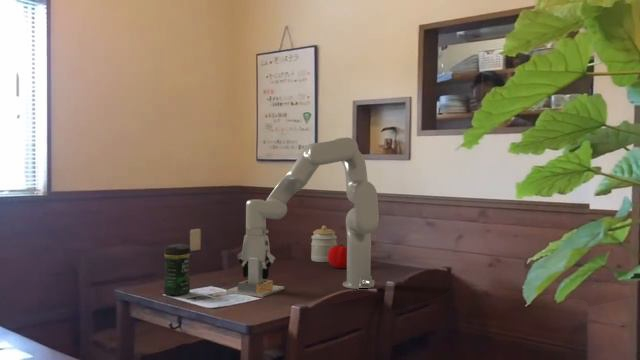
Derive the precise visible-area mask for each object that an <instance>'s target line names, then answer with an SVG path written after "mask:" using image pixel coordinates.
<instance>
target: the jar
mask: <svg viewBox="0 0 640 360" xmlns="http://www.w3.org/2000/svg"><path fill="white" fill-rule="evenodd" d="M312 233H313V235H311V237H310V238H311V243H310V244H311V247H310V248H311V254H310V255H311V256H310V258H311V261H312V262H315V263H316V262H317V263H329V261H328V254H329V251H330V249H331V248H332V247H334V246H338V242H337V238H338V236H336V231H335V230H333V229H331V228H327V226H326V225H322V226H321V228H319V229H315V230H314V231H313V232H312Z"/></svg>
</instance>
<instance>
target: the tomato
mask: <svg viewBox="0 0 640 360" xmlns="http://www.w3.org/2000/svg"><path fill="white" fill-rule="evenodd" d="M328 261H329V262H328V263H329V264H330V265H331V266H332V267H333V268H337V269H347V245H343V244H339V245H337V246H334V247H332V248H331V249H330V251H329V254H328Z"/></svg>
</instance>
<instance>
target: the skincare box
mask: <svg viewBox="0 0 640 360" xmlns="http://www.w3.org/2000/svg"><path fill="white" fill-rule="evenodd" d="M262 269H264V267H263V265H262V264H261V262H259V259H258V258H248V276H247V277H248V278H247V280H248V283H249V284H261V283H264V280H265V279H262Z"/></svg>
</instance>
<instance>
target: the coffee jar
mask: <svg viewBox="0 0 640 360" xmlns="http://www.w3.org/2000/svg"><path fill="white" fill-rule="evenodd" d="M190 256H191V247H190V245H189V244H187V243H175V244H170V245H167V246H166V247H165V248H164V259H165V270H164V284H163V294H165V295H167V296H169V295H173V296H183V295H186V294H188V293H190V291H191V283H190V282H191V281H190ZM182 294H183V295H182Z"/></svg>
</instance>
